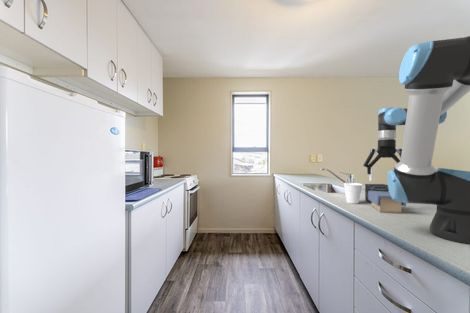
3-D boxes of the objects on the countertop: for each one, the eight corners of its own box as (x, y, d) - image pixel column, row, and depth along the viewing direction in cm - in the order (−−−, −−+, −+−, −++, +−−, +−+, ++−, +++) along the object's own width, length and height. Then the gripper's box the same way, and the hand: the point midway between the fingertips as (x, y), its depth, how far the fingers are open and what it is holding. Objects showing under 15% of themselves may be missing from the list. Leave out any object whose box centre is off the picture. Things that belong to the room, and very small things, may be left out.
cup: (366, 204, 127) (366, 184, 127) (351, 205, 124) (352, 185, 124) (353, 200, 137) (353, 182, 136) (339, 201, 134) (339, 183, 134)
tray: (401, 213, 108) (401, 198, 108) (380, 212, 110) (380, 197, 110) (390, 207, 120) (391, 194, 120) (371, 206, 122) (371, 193, 122)
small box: (383, 201, 136) (383, 183, 136) (389, 203, 129) (389, 185, 129) (364, 200, 137) (364, 183, 137) (369, 203, 130) (370, 184, 130)
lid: (406, 206, 107) (406, 196, 107) (377, 205, 110) (377, 195, 110) (393, 200, 120) (393, 191, 120) (368, 199, 123) (368, 190, 123)
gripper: (411, 139, 115) (410, 180, 116) (357, 139, 121) (356, 179, 122) (419, 138, 108) (418, 183, 108) (361, 139, 114) (360, 181, 115)
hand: (385, 181), depth 115 cm, fingers open, 13 cm apart
